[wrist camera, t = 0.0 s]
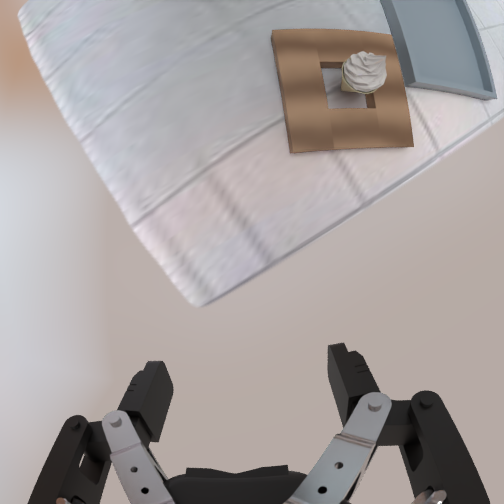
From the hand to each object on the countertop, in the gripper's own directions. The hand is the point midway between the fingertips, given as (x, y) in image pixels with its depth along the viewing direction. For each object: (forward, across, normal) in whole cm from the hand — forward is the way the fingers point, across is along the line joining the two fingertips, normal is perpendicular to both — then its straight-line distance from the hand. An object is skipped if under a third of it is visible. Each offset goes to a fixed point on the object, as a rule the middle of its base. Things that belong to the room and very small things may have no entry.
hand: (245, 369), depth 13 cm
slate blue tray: (+29, -37, -32) cm, 57 cm away
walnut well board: (+29, -16, -19) cm, 38 cm away
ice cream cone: (+30, -16, -19) cm, 38 cm away
